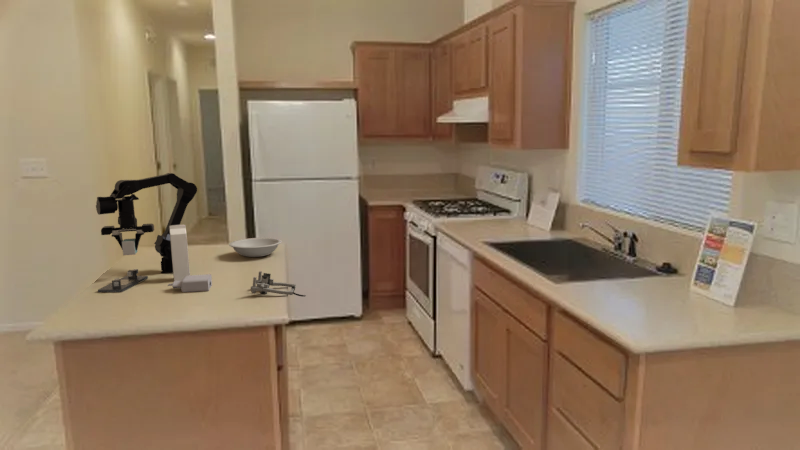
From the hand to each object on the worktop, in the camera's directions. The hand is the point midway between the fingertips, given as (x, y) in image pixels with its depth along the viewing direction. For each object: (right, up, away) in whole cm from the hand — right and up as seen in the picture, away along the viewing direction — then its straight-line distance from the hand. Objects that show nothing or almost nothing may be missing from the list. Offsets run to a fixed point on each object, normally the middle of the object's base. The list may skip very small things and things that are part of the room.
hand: (130, 250), depth 231 cm
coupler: (0, -1, 0) cm, 1 cm away
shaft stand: (+1, -13, -8) cm, 15 cm away
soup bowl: (+41, -5, +40) cm, 57 cm away
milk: (+21, -12, -1) cm, 24 cm away
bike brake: (+65, -15, -22) cm, 70 cm away
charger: (+30, -14, -16) cm, 37 cm away
